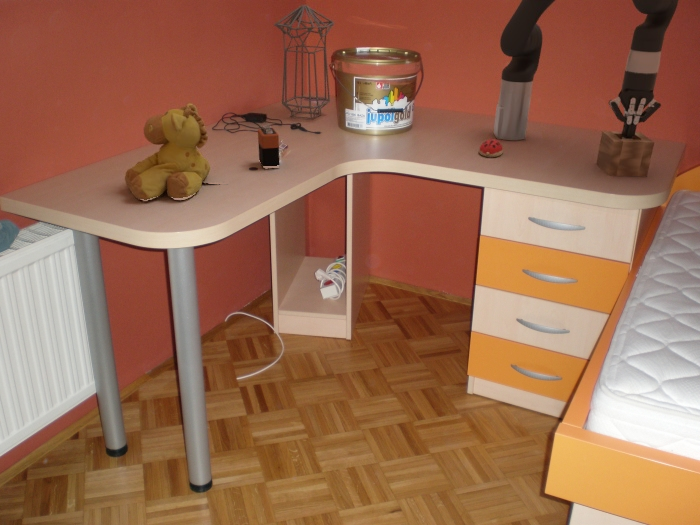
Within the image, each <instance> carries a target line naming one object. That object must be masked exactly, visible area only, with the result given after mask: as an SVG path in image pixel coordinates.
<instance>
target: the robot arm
mask: <svg viewBox="0 0 700 525" xmlns="http://www.w3.org/2000/svg"><path fill="white" fill-rule="evenodd" d="M554 2H556V0H521V1H520V3H519V5H518V6H517V8H516V10H515V11H514V13H513V15H511V18H510V19H509V21H508V22H507V24H506V25H505V27H504V29H503V30H502V33H501V35H500V40H499V42H500V43H499V45H500V50H501V51H502V53H503V55H505V56H508V57H510V58H511V60H510V62H509V63H508V64H507V65H506V66H505V67H504V68H503V69H502V71H501V78H500V89H499V96H498V102H497V103H496V110H495V115H494V126H493V135H494V137H495V139H496V140H497V139H499V140H504V141H505V140H507V141H521V140H524V139H526V135H527V134H526V133H527V128H528V120H529V112H530V106H531V100H532V99H531V98H532V92H533V86H534V84H533V82H534V77H535V74H536V73H537V70H538V68H539V63H540V58H541V52H542V48H543V31H542V29H541V27H540V26H539V24H537V23H538V21H539V20H540V18H541V17H542V15H543V14H544V13H545V11H547V9H549V8H550V6H551V5H552V4H553V3H554ZM632 3H633V5H634V7H635V9H636V10H637V11H638V12H639V13H641V14H642V15H643V14H644V15H646V18H645V20H644V21H643V23H641V24H639V25H637V26H636V27H635V29H634V31H633V34H632V39H631V44H630V50H629V53H628V55H627V59H626V63H625V70H624V73H623V78H622V79H623V80H622V85H621V90H620V91H619V93H618V96H617V97H616V98H614V99H610V100H608V105H609V107H610V109H611V110H612V112H613V113H614V115H615V117H616V118H617V120H619V121H620V122H621V123H623V126H622V131H621V132H622V135H623V136H624V137H625V138H629V139H632V136H634V135H635V132H637V126H638V124H640V123H645V122H646V121H647V120H648V119H649V118H650V117H651V116H652V115H654V113H655V112H656V111H658V110H659V108H661V106H662V103H660V102H658V101H657V100H656V99H655V94H654V90H655V86H656V81H657V76H658V73H659V69H660V64H661V56H662V55H661V54H662V49H663V43H664V40H665V34H666V32H667V29H668V28H669V26H670V23H671V21H673V17H674V15H675V12H676V11H677V10H676V9H677V8H678V6H679V5H678V4H679V0H632ZM621 105H622V107H623V109H624V110H623V112H624V114H623V112H622V111H621V109H620V106H621Z"/></svg>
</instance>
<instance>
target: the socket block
mask: <svg viewBox="0 0 700 525" xmlns="http://www.w3.org/2000/svg"><path fill="white" fill-rule="evenodd" d="M622 137H624V136H623V135H622V131H617V130H615V131H614V130H613V131H612V130H602V132H601V136H600V141H599V142H600V143H599V147H598V152H597V157H596V158H597V159H596V162H595V164H596V163H597V164H596V165H597V166H598V167H599V168H600V169H601V170H602V172H603V173H605V174H606V175H607V176H619V177H621V176H622V177H647V176H648V173H649V172H648V171H649V168H650V163H651V159H652V154H653V150H654V146H655V141H653V140H652V139H650V138H649V137H648V136H646V135H645V134H644V133H643V132H641V131H636V132H635V135H634V136H632V139H628V138H627V139H622ZM624 138H625V137H624Z"/></svg>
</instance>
